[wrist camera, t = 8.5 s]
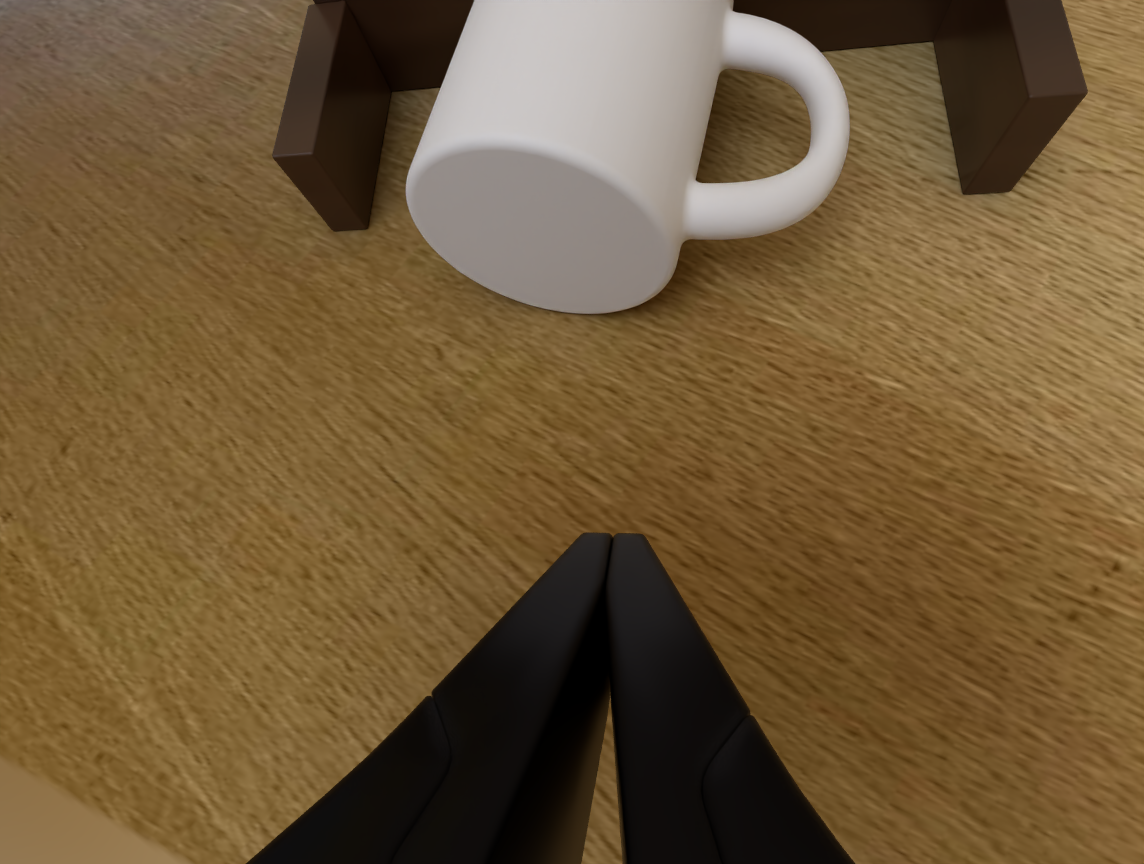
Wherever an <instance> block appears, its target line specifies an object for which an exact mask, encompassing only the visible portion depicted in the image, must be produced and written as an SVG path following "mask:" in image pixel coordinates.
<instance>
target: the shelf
mask: <svg viewBox="0 0 1144 864" xmlns="http://www.w3.org/2000/svg"><path fill="white" fill-rule="evenodd" d="M313 1H314V2H315V4H313V5H309V6H308V11H307V15H306V19H305V23H304V27H303V31H302V35H301V39H300V43H299V48H298V52H297V56H296V60H295V64H294V68H293V72H292V76H291V80H290V85H289V89H288V93H287V97H286V101H285V105H284V109H283V113H282V117H281V122H280V126H279V130H278V134H277V138H276V142H275V146H274V150H273V154H272V156H273V158H274V160H275V161H276V162H277V163H278V165H279V166H280V167H281V168H282V169H283V171H284V172H285V173H286V174H287V176H288V177H289V178H290V179H291V180H292V182H293V183H294V184H295V185H296V187H297V188H298V189H299V190H300V191H301V193H302V194H303V195H304V196H305V198H306V199H307V200H308V201H309V202H310V204H311V205H312V206H313V207H314V209H315V210H316V211H317V212H318V213H319V215H320V216H321V217H322V218H323V220H324V221H325V222H326V223H327V224H328V226H329V227H330V228H331V229H332V230H333V231H339V230H356V229H367V227H368V221H369V215H370V210H371V204H372V198H373V193H374V187H375V181H376V175H377V170H378V164H379V158H380V152H381V147H382V141H383V135H384V129H385V124H386V118H387V112H388V106H389V101H390V95H391V91H398V90H409V89H420V88H431V87H441V86H442V83H443V81H444V78H445V75H446V73H447V70H448V68H449V65H450V62H451V60H452V57H453V55H454V52H455V49H456V47H457V44H458V42H459V39H460V36H461V34H462V31H463V29H464V26H465V23H466V21H467V18H468V16H469V13H470V10H471V8H472V5H473V3H474V0H313ZM733 11H734V12H737V13H743V14H749V15H753V16H757V17H761V18H765V19H768V20H770V21H773V22H776V23H779V24H781V25H783V26H785V27H787V28H789V29H791V30H793V31H795V32H796V33H798V34H799V35H801V36H802V37H804V38H805V39H807V40H808V41H809V42H810V43H811V44H813V45H814V46H815V47H816V48H817V49H818V50H819V51H827V50H838V49H849V48H859V47H870V46H881V45H891V44H902V43H913V42H924V41H934V46H935V51H936V56H937V61H938V66H939V72H940V77H941V82H942V87H943V92H944V97H945V102H946V108H947V113H948V118H949V123H950V128H951V133H952V138H953V143H954V149H955V154H956V159H957V164H958V169H959V174H960V179H961V184H962V190H963V193H964V194H974V193H992V192H1008V191H1011V190H1012V189H1013V187H1014V186H1015V185H1016V183H1017V182H1018V181H1019V180H1020V178H1021V177H1022V176H1023V175H1024V173H1025V172H1026V171H1027V169H1028V168H1029V167H1030V166H1031V164H1032V163H1033V162H1034V161H1035V159H1036V158H1037V157H1038V155H1039V154H1040V153H1041V152H1042V150H1043V149H1044V148H1045V147H1046V145H1047V144H1048V143H1049V141H1050V140H1051V139H1052V138H1053V136H1054V135H1055V134H1056V133H1057V131H1058V130H1059V129H1060V127H1061V126H1062V125H1063V124H1064V122H1065V121H1066V120H1067V119H1068V117H1069V116H1070V115H1071V113H1072V112H1073V111H1074V110H1075V108H1076V107H1077V106H1078V105H1079V103H1080V102H1081V101H1082V99H1083V98H1084V97H1085V96H1086V94H1087V92H1088V90H1087V86H1086V83H1085V80H1084V76H1083V73H1082V69H1081V66H1080V62H1079V59H1078V56H1077V52H1076V49H1075V45H1074V42H1073V38H1072V35H1071V32H1070V28H1069V25H1068V21H1067V18H1066V14H1065V11H1064V8H1063V4H1062V1H1061V0H734V3H733Z"/></svg>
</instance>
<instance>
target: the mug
mask: <svg viewBox="0 0 1144 864" xmlns="http://www.w3.org/2000/svg"><path fill="white" fill-rule="evenodd" d="M733 3H734V0H474V3H473V5H472V8H471V10H470V13H469V16H468V18H467V21H466V23H465V26H464V29H463V31H462V34H461V36H460V39H459V42H458V44H457V47H456V49H455V52H454V55H453V57H452V60H451V62H450V65H449V68H448V70H447V73H446V75H445V78H444V81H443V83H442V86H441V89H440V91H439V94H438V96H437V99H436V102H435V104H434V107H433V109H432V112H431V115H430V117H429V120H428V122H427V125H426V128H425V130H424V133H423V135H422V138H421V141H420V143H419V146H418V148H417V151H416V154H415V156H414V159H413V161H412V164H411V167H410V169H409V172H408V176H407V181H406V199H407V204H408V208H409V211H410V214H411V216H412V219H413V221H414V223H415V225H416V226H417V228H418V230H419V231H420V233H421V234H422V236H423V237H424V238H425V240H426V241H427V242H428V243H429V245H430V246H431V247H432V248H433V249H434V250H435V251H436V252H437V253H438V254H439V255H440V256H441V257H442V258H443V259H444V260H446V261H447V262H448V263H449V264H450V265H452V266H453V267H454V268H455V269H457V270H458V271H460V272H461V273H462V274H464V275H465V276H467V277H469V278H470V279H472V280H473V281H475V282H477V283H479V284H480V285H482V286H484V287H486V288H488V289H490V290H492V291H494V292H496V293H498V294H501V295H503V296H506V297H508V298H511V299H513V300H516V301H519V302H522V303H525V304H528V305H532V306H535V307H540V308H544V309H548V310H554V311H560V312H567V313H579V314H600V313H610V312H616V311H621V310H625V309H629V308H632V307H635V306H637V305H640V304H642V303H644V302H646V301H648V300H650V299H651V298H653V297H654V296H655V295H657V294H658V293H659V292H660V291H661V290H662V289H663V288H664V287H665V286H666V285H667V284H668V282H669V281H670V279H671V277H672V276H673V273H674V271H675V269H676V265H677V261H678V257H679V252H680V248H681V245H682V244H683V242H685V241H686V240H689V239H699V240H727V239H741V238H750V237H756V236H761V235H765V234H769V233H773V232H776V231H779V230H782V229H784V228H787V227H789V226H791V225H793V224H795V223H797V222H799V221H801V220H802V219H804V218H805V217H807V216H808V215H809V214H811V213H812V212H813V211H814V210H815V209H816V208H817V207H818V206H819V205H820V204H821V203H822V202H823V201H824V200H825V199H826V197H827V196H828V195H829V193H830V192H831V190H832V189H833V187H834V185H835V184H836V182H837V180H838V178H839V175H840V173H841V171H842V168H843V165H844V162H845V158H846V154H847V150H848V144H849V135H850V117H849V108H848V102H847V98H846V95H845V92H844V89H843V86H842V84H841V82H840V80H839V78H838V76H837V74H836V72H835V71H834V69H833V67H832V66H831V64H830V63H829V62H828V60H827V59H826V58H825V57H824V56H823V54H822V53H821V52H820V51H819V50H818V49H817V48H816V47H815V46H814V45H813V44H811V43H810V42H809V41H808V40H807V39H805V38H804V37H802V36H801V35H799V34H798V33H796V32H795V31H793V30H791V29H789V28H787V27H785V26H783V25H781V24H779V23H776V22H773V21H770V20H768V19H765V18H761V17H757V16H753V15H749V14H743V13H737V12H734V11H733ZM724 69H735V70H743V71H749V72H755V73H759V74H764V75H768V76H771V77H774V78H777V79H779V80H781V81H783V82H785V83H787V84H789V85H790V86H791V87H793V88H794V89H795V90H796V91H797V92H798V93H799V94H800V96H801V97H802V98H803V100H804V102H805V104H806V106H807V109H808V113H809V117H810V123H811V142H810V148H809V152H808V154H807V156H806V157H805V158H804V159H803V160H802V161H801V162H800V163H799V164H798V165H796V166H795V167H793V168H791V169H790V170H788V171H785V172H783V173H781V174H778V175H775V176H772V177H768V178H764V179H759V180H753V181H746V182H735V183H699V182H697V181H696V175H697V171H698V166H699V162H700V157H701V152H702V148H703V143H704V139H705V134H706V130H707V125H708V121H709V116H710V112H711V107H712V103H713V98H714V94H715V89H716V85H717V80H718V76H719V74H720V72H721V71H723V70H724Z"/></svg>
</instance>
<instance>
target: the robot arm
mask: <svg viewBox="0 0 1144 864" xmlns="http://www.w3.org/2000/svg"><path fill="white" fill-rule="evenodd" d="M610 693H611V710H612V725H613V738H614V752H615V766H616V779H617V793H618V806H619V820H620V834H621V847H622V861H623V864H855V863H854V861H853V860H852V859H851V858H850V856H849V855H848V854H847V852H846V851H845V850H844V848H843V847H842V846H841V845H840V843H839V842H838V841H837V839H836V838H835V837H834V835H833V834H832V832H831V831H830V830H829V828H828V827H827V826H826V824H825V823H824V821H823V820H822V819H821V817H820V816H819V815H818V813H817V812H816V811H815V809H814V808H813V806H812V805H811V804H810V802H809V801H808V800H807V798H806V797H805V796H804V794H803V793H802V791H801V790H800V789H799V787H798V785H797V784H796V782H795V781H794V779H793V778H792V776H791V775H790V773H789V772H788V770H787V769H786V767H785V765H784V764H783V762H782V761H781V759H780V758H779V756H778V755H777V753H776V752H775V750H774V748H773V747H772V745H771V744H770V742H769V740H768V739H767V737H766V735H765V734H764V732H763V730H762V729H761V727H760V725H759V724H758V722H757V720H756V719H755V717H754V716H752V715H750V709H749V708H748V706H747V704H746V703H745V701H744V700H743V698H742V696H741V695H740V693H739V691H738V690H737V688H736V686H735V685H734V683H733V681H732V680H731V678H730V676H729V675H728V673H727V671H726V670H725V668H724V666H723V665H722V663H721V661H720V660H719V658H718V656H717V655H716V653H715V651H714V650H713V648H712V646H711V645H710V643H709V641H708V640H707V638H706V636H705V635H704V633H703V631H702V630H701V628H700V626H699V625H698V623H697V621H696V620H695V618H694V616H693V615H692V613H691V611H690V610H689V608H688V607H687V605H686V603H685V602H684V600H683V598H682V597H681V595H680V593H679V592H678V590H677V588H676V587H675V585H674V583H673V582H672V580H671V578H670V577H669V575H668V573H667V572H666V570H665V568H664V567H663V565H662V563H661V562H660V560H659V558H658V557H657V555H656V553H655V552H654V550H653V548H652V547H651V545H650V543H649V542H648V540H647V538H646V537H645V536H644V535H643V534H637V533H617V534H616V535H614V537H612V535H611V534H610V533H583V534H581V535H580V536H579V537H578V538H577V539H576V540H575V541H574V542H573V544H572V545H571V546H570V547H569V548H568V549H567V550H566V551H565V552H564V553H563V554H562V555H561V556H560V557H559V558H558V559H557V560H556V561H555V562H554V563H553V565H552V566H551V567H550V568H549V569H548V570H547V571H546V572H545V573H544V574H543V575H542V576H541V577H540V578H539V579H538V580H537V581H536V582H535V583H534V584H533V586H532V587H531V588H530V589H529V590H528V591H527V592H526V593H525V594H524V595H523V596H522V597H521V598H520V599H519V600H518V601H517V602H516V603H515V604H514V605H513V607H512V608H511V609H510V610H509V611H508V612H507V613H506V614H505V615H504V616H503V617H502V618H501V619H500V620H499V621H498V622H497V623H496V624H495V625H494V626H493V628H492V629H491V630H490V631H489V632H488V633H487V634H486V635H485V636H484V637H483V638H482V639H481V640H480V641H479V642H478V643H477V644H476V645H475V646H474V647H473V649H472V650H471V651H470V652H469V653H468V654H467V655H466V656H465V657H464V658H463V659H462V660H461V661H460V662H459V663H458V664H457V665H456V666H455V667H454V668H453V670H452V671H451V672H450V673H449V674H448V675H447V676H446V677H445V678H444V679H443V680H442V681H441V682H440V683H439V684H438V685H437V686H436V687H435V688H434V689H433V691H432V696H427V697H426V698H425V699H424V700H423V701H422V702H421V703H420V704H419V705H418V706H417V707H416V708H415V709H414V710H413V711H412V712H411V713H410V714H409V715H408V716H407V717H406V719H405V720H404V721H403V722H401V723H400V724H399V725H398V726H397V727H396V728H395V729H394V730H393V731H392V732H391V733H390V734H389V735H388V736H387V737H386V738H385V739H384V740H383V741H382V742H381V743H380V744H379V745H378V746H377V747H376V748H375V749H374V750H373V751H372V752H371V753H370V754H369V755H368V756H367V757H366V758H365V759H364V760H363V761H362V762H361V763H359V764H358V765H357V766H356V767H355V768H354V769H353V770H352V771H351V772H350V773H348V774H347V775H346V776H345V777H344V778H343V779H342V780H341V781H340V782H339V783H337V784H336V785H335V786H334V787H333V788H332V789H331V790H330V791H329V792H328V793H326V794H325V795H324V796H323V797H322V798H321V799H320V800H318V801H317V802H316V803H315V804H314V805H313V806H312V807H310V808H309V809H308V810H307V811H306V812H305V813H304V814H302V815H301V816H300V817H299V818H298V819H297V820H296V821H294V822H293V823H292V824H291V825H290V826H289V827H287V828H286V829H285V830H284V831H283V832H282V833H281V834H279V835H278V836H277V837H276V838H275V839H274V840H273V841H271V842H270V843H269V844H268V845H267V846H266V847H265V848H263V849H262V850H261V851H260V852H259V853H258V854H256V855H255V856H254V857H253V858H252V859H251V860H250V861H248V862H247V863H246V864H581V861H582V856H583V850H584V844H585V839H586V833H587V828H588V822H589V816H590V811H591V805H592V799H593V794H594V788H595V783H596V777H597V771H598V766H599V760H600V754H601V749H602V743H603V738H604V732H605V726H606V721H607V714H608V708H609V701H610Z"/></svg>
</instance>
